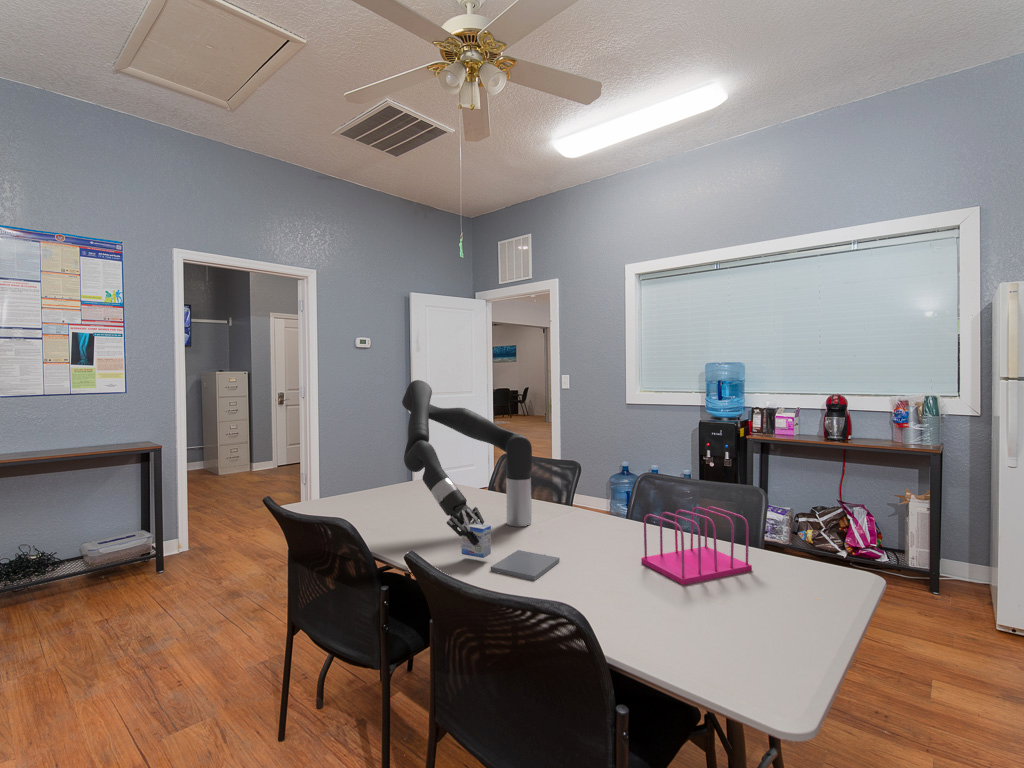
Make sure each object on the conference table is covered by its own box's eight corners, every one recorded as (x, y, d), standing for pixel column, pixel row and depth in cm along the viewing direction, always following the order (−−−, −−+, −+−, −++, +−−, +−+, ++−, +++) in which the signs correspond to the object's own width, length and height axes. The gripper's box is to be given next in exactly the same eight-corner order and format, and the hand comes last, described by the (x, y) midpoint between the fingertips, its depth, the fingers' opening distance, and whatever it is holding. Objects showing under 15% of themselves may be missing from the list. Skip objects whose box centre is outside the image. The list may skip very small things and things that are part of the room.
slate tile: (518, 553, 156) (518, 550, 156) (559, 561, 149) (559, 557, 149) (490, 570, 142) (490, 566, 142) (534, 580, 135) (534, 576, 135)
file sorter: (640, 563, 147) (640, 510, 147) (706, 552, 157) (706, 501, 157) (682, 585, 131) (682, 526, 131) (752, 571, 141) (752, 515, 141)
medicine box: (461, 554, 150) (460, 525, 150) (469, 549, 154) (468, 521, 154) (483, 558, 146) (483, 529, 146) (491, 553, 150) (491, 525, 150)
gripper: (455, 499, 163) (487, 541, 157) (427, 509, 150) (460, 556, 144) (468, 484, 160) (501, 527, 154) (440, 493, 148) (475, 540, 142)
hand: (481, 541), depth 149 cm, fingers closed on medicine box, 4 cm apart
